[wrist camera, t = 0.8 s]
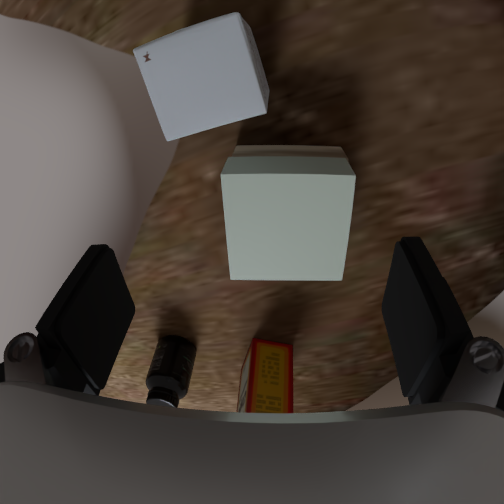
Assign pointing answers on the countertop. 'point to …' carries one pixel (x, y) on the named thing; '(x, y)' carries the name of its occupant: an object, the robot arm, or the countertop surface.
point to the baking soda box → (266, 378)
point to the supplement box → (204, 76)
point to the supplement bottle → (170, 371)
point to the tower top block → (287, 216)
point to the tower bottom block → (289, 151)
